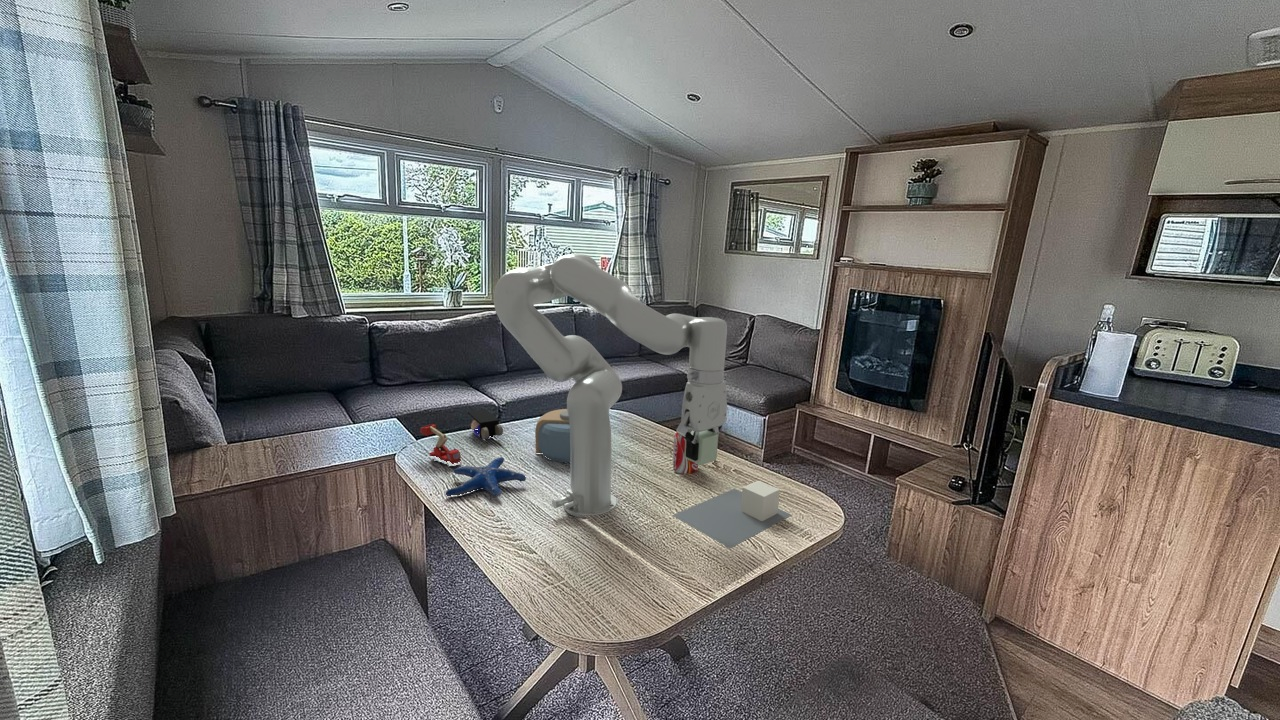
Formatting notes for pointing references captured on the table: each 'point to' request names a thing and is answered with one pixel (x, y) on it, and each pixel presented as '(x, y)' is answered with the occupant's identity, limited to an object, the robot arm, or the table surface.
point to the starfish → (485, 478)
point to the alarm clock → (554, 435)
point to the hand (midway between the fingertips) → (700, 454)
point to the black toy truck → (485, 424)
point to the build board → (736, 513)
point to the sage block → (705, 447)
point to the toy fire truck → (441, 445)
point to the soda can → (682, 457)
